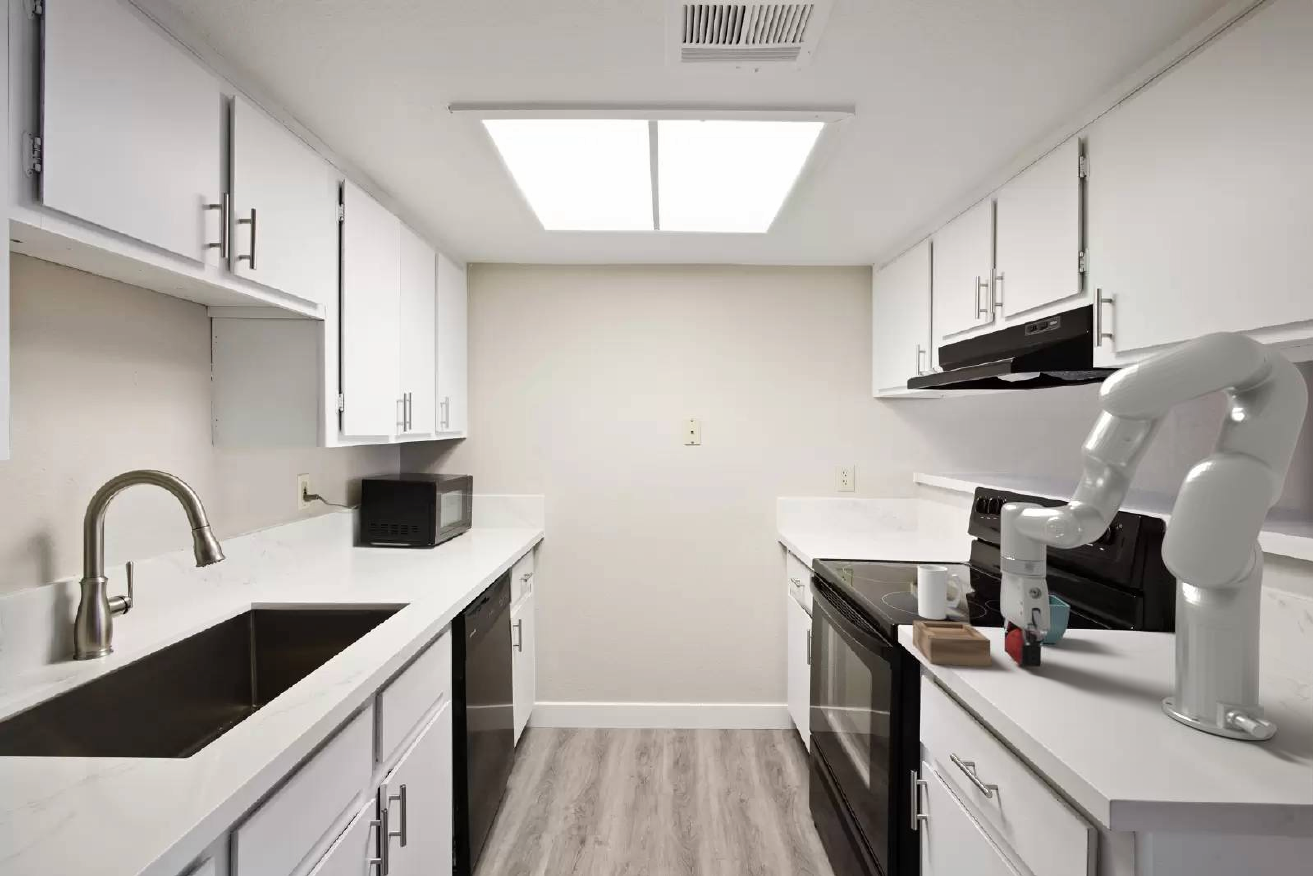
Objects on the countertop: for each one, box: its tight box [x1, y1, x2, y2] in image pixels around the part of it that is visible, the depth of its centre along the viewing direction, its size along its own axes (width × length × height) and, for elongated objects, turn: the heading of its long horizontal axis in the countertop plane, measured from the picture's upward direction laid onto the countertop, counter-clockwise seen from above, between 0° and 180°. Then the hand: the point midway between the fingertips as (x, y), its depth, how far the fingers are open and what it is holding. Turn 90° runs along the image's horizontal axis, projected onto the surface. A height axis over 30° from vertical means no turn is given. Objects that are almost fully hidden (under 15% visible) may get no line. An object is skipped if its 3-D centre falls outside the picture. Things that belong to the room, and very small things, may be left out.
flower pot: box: [1028, 594, 1071, 644], centre depth 128 cm, size 9×9×9 cm
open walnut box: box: [912, 620, 991, 667], centre depth 119 cm, size 11×11×5 cm
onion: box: [1004, 627, 1032, 666], centre depth 114 cm, size 6×6×8 cm
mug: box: [916, 564, 964, 621], centre depth 144 cm, size 10×7×12 cm, turn 62°
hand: (1022, 658), depth 114 cm, fingers closed on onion, 5 cm apart
